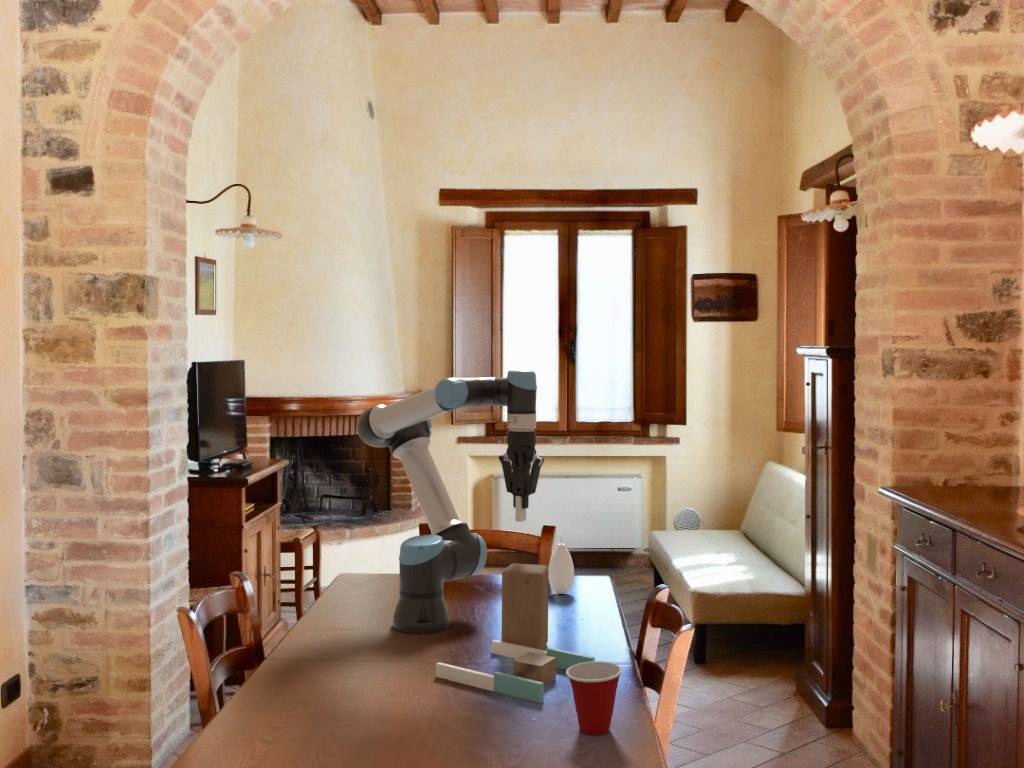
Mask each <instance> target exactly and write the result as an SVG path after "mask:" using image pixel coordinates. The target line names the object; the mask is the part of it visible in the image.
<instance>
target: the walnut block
mask: <svg viewBox="0 0 1024 768" xmlns="http://www.w3.org/2000/svg"><path fill="white" fill-rule="evenodd" d="M512 664H513V665H512V667H513V668H512V669H513V670H512V675H513V676H518V677H522V678H526V679H530V680H534V681H539V682H543V683H544V687H545V686H547V685H549V684H550V683H552V682H553V681H555V680H556V679H557V673H556V672H557V668H556V657H550V656H545V655H540V654H534V653H527V654H525V655H523V656H521V657H519V658H518V659H514V660H513V661H512ZM548 683H549V684H548Z"/></svg>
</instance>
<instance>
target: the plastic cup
mask: <svg viewBox="0 0 1024 768" xmlns="http://www.w3.org/2000/svg"><path fill="white" fill-rule="evenodd" d="M622 669H623V668H622V667H621V666H620V665H618V664H617V663H613V662H609V661H602V660H599V661H598V660H595V661H593V662H584V663H579V664H576V665H573V666H571V667H569V668H568V669H567V670H565V675H566V676H567V677H568V679H569V682H570V685H571V689H572V695H573V700H574V707H575V712H576V715H577V723H578V727H579V731H580V732H581V733H584V734H585V735H589V736H602V735H606V734H608V733H609V732H610V729H611V725H612V724H611V722H612V717H613V715H614V710H615V709H614V708H615V702H616V696H617V690H618V685H619V681H620V676H621V675H622ZM608 731H609V732H608ZM607 732H608V733H607ZM605 733H606V734H605Z"/></svg>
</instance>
